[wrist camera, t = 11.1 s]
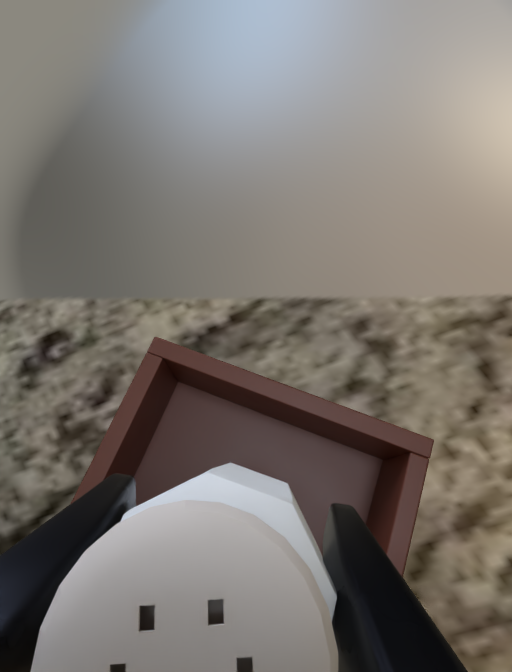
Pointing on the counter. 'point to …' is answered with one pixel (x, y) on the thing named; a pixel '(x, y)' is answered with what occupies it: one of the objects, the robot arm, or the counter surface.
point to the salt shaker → (198, 587)
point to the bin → (262, 443)
